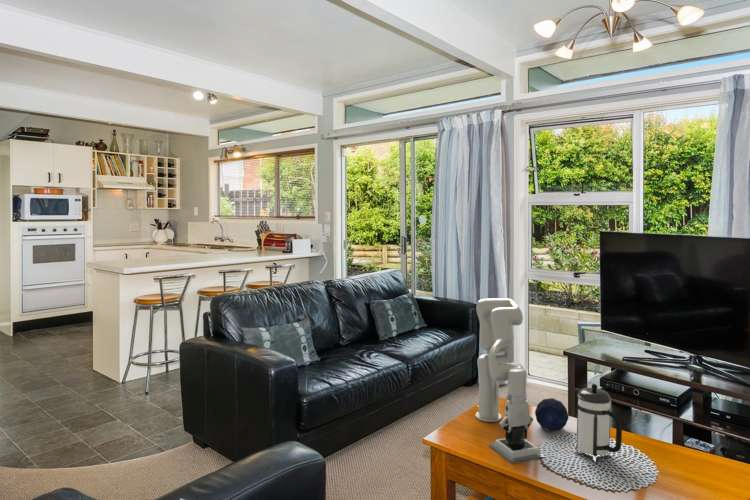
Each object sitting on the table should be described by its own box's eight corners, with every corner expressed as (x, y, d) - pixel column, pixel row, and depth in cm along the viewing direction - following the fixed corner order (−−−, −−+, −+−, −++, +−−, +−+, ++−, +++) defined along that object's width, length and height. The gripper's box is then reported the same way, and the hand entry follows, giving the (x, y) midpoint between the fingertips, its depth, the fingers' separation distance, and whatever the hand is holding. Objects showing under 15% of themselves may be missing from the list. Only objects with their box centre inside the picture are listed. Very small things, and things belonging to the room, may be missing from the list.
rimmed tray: (489, 446, 215) (489, 438, 215) (520, 441, 220) (521, 433, 220) (511, 463, 200) (511, 455, 200) (544, 457, 205) (544, 449, 205)
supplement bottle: (525, 451, 206) (525, 422, 206) (508, 449, 208) (508, 421, 207) (523, 443, 213) (524, 416, 212) (507, 442, 214) (507, 415, 214)
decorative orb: (580, 421, 229) (563, 390, 235) (560, 429, 220) (543, 397, 227) (558, 431, 238) (543, 401, 245) (538, 439, 230) (523, 408, 237)
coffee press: (573, 460, 202) (575, 388, 201) (573, 444, 217) (574, 376, 215) (620, 468, 196) (623, 393, 194) (617, 451, 211) (619, 381, 209)
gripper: (504, 403, 203) (503, 446, 204) (539, 398, 208) (539, 440, 210) (494, 397, 210) (493, 438, 211) (528, 392, 215) (528, 432, 217)
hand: (516, 439), depth 210 cm, fingers closed on supplement bottle, 6 cm apart
